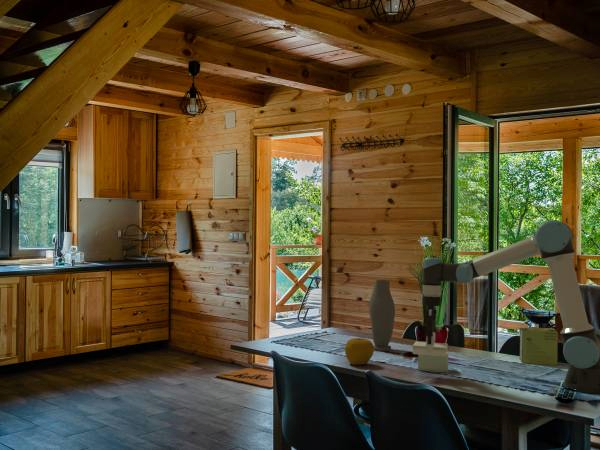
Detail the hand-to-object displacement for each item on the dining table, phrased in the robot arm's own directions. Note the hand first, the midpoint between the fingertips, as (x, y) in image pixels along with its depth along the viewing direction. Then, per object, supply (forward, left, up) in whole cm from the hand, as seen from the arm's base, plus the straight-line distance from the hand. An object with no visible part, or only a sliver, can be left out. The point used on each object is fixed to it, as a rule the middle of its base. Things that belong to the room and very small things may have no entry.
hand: (430, 350), depth 259 cm
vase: (+58, +29, -11) cm, 66 cm away
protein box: (+52, -45, -11) cm, 70 cm away
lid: (0, 0, +1) cm, 1 cm away
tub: (+15, 0, -11) cm, 18 cm away
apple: (+14, +32, -11) cm, 36 cm away
